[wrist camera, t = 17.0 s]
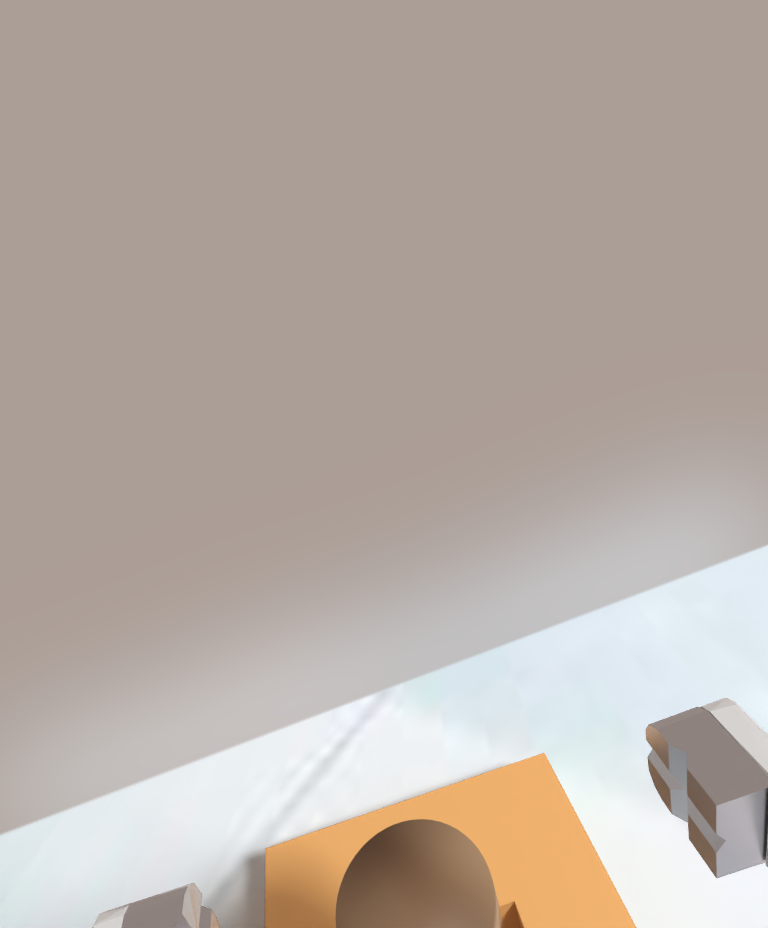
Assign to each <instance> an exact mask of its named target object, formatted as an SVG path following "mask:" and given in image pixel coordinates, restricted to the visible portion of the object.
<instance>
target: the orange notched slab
mask: <svg viewBox="0 0 768 928" xmlns="http://www.w3.org/2000/svg"><path fill="white" fill-rule="evenodd" d="M415 819H427V820H434V821H439V822H442V823H445V824H448V825H450V826H452V827H454V828H456V829H458V830H459V831H460V832H462V833H463V834H465V835H466V836H467V837H468V838H469V839H470V840H471V841H472V842H473V843H474V844H475V846H476V847H477V848H478V849H479V851H480V852H481V854H482V855H483V857H484V859H485V861H486V863H487V865H488V867H489V870H490V873H491V876H492V880H493V883H494V887H495V891H496V895H497V899H498V903H499V908H500V915H501V928H636V926H635V924H634V923H633V921H632V919H631V917H630V915H629V913H628V911H627V909H626V907H625V905H624V904H623V902H622V900H621V898H620V896H619V894H618V892H617V890H616V888H615V886H614V885H613V883H612V881H611V879H610V877H609V875H608V873H607V871H606V869H605V867H604V866H603V864H602V862H601V860H600V858H599V856H598V854H597V852H596V850H595V848H594V847H593V845H592V843H591V841H590V839H589V837H588V835H587V833H586V831H585V829H584V828H583V826H582V824H581V822H580V820H579V818H578V816H577V814H576V812H575V810H574V809H573V807H572V805H571V803H570V801H569V799H568V797H567V795H566V793H565V791H564V790H563V788H562V786H561V784H560V782H559V780H558V778H557V776H556V774H555V772H554V771H553V769H552V767H551V765H550V763H549V761H548V759H547V757H546V755H545V753H542V754H539V755H536V756H533V757H530V758H528V759H525V760H522V761H519V762H516V763H513V764H510V765H507V766H504V767H501V768H498V769H495V770H493V771H490V772H487V773H484V774H481V775H478V776H475V777H472V778H469V779H466V780H463V781H461V782H458V783H455V784H452V785H449V786H446V787H443V788H440V789H437V790H434V791H431V792H429V793H426V794H423V795H420V796H417V797H414V798H411V799H408V800H405V801H402V802H399V803H397V804H394V805H391V806H388V807H385V808H382V809H379V810H376V811H373V812H370V813H367V814H365V815H362V816H359V817H356V818H353V819H350V820H347V821H344V822H341V823H338V824H335V825H332V826H330V827H327V828H324V829H321V830H318V831H315V832H312V833H309V834H306V835H303V836H300V837H298V838H295V839H292V840H289V841H286V842H283V843H280V844H277V845H274V846H271V847H268V848H266V854H265V928H336V920H335V916H336V903H337V896H338V892H339V888H340V885H341V882H342V879H343V877H344V874H345V872H346V870H347V868H348V866H349V864H350V863H351V861H352V860H353V858H354V857H355V855H356V854H357V853H358V851H359V850H360V849H361V848H362V847H363V846H364V845H365V844H366V843H367V842H368V841H369V840H370V839H371V838H372V837H374V836H375V835H376V834H377V833H379V832H381V831H382V830H384V829H385V828H388V827H390V826H392V825H394V824H397V823H400V822H403V821H408V820H415Z"/></svg>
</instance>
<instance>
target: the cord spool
mask: <svg viewBox="0 0 768 928" xmlns="http://www.w3.org/2000/svg"><path fill="white" fill-rule="evenodd" d="M335 920H336V928H501V915H500V908H499V903H498V899H497V895H496V891H495V887H494V883H493V880H492V876H491V873H490V870H489V867H488V865H487V863H486V861H485V859H484V857H483V855H482V854H481V852H480V851H479V849H478V848H477V847H476V846H475V844H474V843H473V842H472V841H471V840H470V839H469V838H468V837H467V836H466V835H465V834H463V833H462V832H460V831H459V830H458V829H456V828H454V827H452V826H450V825H448V824H445V823H442V822H439V821H434V820H427V819H415V820H408V821H403V822H400V823H397V824H394V825H392V826H390V827H388V828H385V829H384V830H382V831H381V832H379V833H377V834H376V835H375V836H374V837H372V838H371V839H370V840H369V841H368V842H367V843H366V844H365V845H364V846H363V847H362V848H361V849H360V850H359V851H358V853H357V854H356V855H355V857H354V858H353V860H352V861H351V863H350V864H349V866H348V868H347V870H346V872H345V874H344V877H343V879H342V882H341V885H340V888H339V892H338V896H337V903H336V916H335Z"/></svg>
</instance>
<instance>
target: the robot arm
mask: <svg viewBox="0 0 768 928" xmlns="http://www.w3.org/2000/svg"><path fill="white" fill-rule="evenodd" d="M646 740H647V741H648V743H649V744H650V745H651V747H652V748H653V749H652V751H651V753H650V754H649V756H648V765H649V772H650V774H651V777H652V780H653V782H654V785H655V787H656V789H657V791H658V793H659V795H660V797H661V798H662V800H663V802H664V803H665V805H666V806H667V808H668V809H669V810H670V812H671V813H672V814H673V815H675V816H677V817H679V818H680V819H682V820H684V821H686V822H688V829H689V840H690V841H691V842H692V844H693V845H694V847H695V848H696V850H697V851H698V852H699V854H700V855H701V857H702V858H703V860H704V861H705V862H706V864H707V865H708V867H709V868H710V870H711V871H712V872H713V874H714V875H715V877H716V878H719V877H722V876H725V875H728V874H731V873H734V872H737V871H740V870H743V869H746V868H749V867H752V866H755V865H758V864H761V863H764V862H766V866H767V867H768V734H767V733H766V732H765V731H764V730H763V729H762V728H761V727H760V726H759V725H758V724H757V723H756V722H755V721H754V720H753V719H752V718H751V717H750V716H749V715H748V714H747V713H746V712H745V711H744V710H743V709H742V708H741V707H740V706H739V705H738V704H737V703H736V702H734V701H732V700H730V699H728V698H724V699H720V700H718V701H715V702H712V703H710V704H707V705H704V706H702V707H696V708H693V709H690V710H687V711H685V712H682V713H679V714H677V715H674V716H671V717H668V718H666V719H663V720H660V721H657V722H655V723H652V724H649V725H648V726H647V728H646ZM201 899H202V893H201V892H200V890H199V889H198V888H197V886H196V885H195V883H191V884H188V885H185V886H182V887H179V888H176V889H173V890H170V891H167V892H164V893H161V894H158V895H155V896H152V897H149V898H146V899H143V900H140V901H137V902H134V903H130V904H127V905H124V906H121V907H118V908H115V909H112V910H109V911H106V912H103V913H101V914H99V916H98V918H97V920H96V922H95V924H94V925H93V927H92V928H220V927H219V924H218V921H217V918H216V916H215V915H214V913H213V911H212V910H211V909H208V908H205V907H203V906H201Z"/></svg>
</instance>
